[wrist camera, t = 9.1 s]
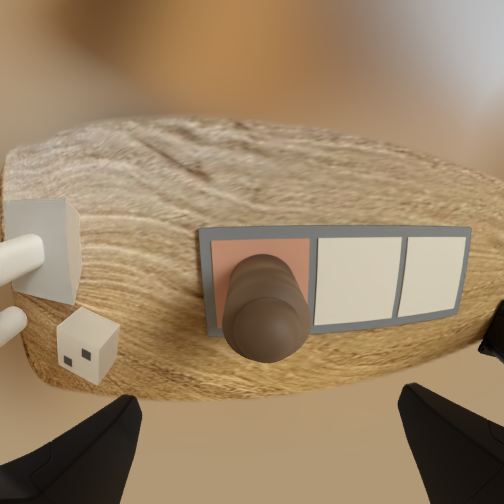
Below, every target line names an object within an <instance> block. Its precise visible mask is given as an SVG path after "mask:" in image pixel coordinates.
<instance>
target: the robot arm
mask: <svg viewBox="0 0 504 504" xmlns="http://www.w3.org/2000/svg"><path fill="white" fill-rule="evenodd" d="M478 351H479V352H480V353H482V354H486V355H489V356H493V357H497V358H498V359H499V360H500V361H501V362H502V363H503V364H504V300H503V301H502V303H501V305H500V308H499V310H498V312H497V314H496V316H495V318H494V320H493V322H492V324H491V326H490V328H489V330H488V332H487V333H486V335H485V337H484V339H483V341H482V342H481V344H480V346H479V348H478ZM398 409H399V413H400V416H401V419H402V423H403V427H404V430H405V434H406V438H407V440H408V443H409V446H410V449H411V451H412V453H413V456H414V459H415V461H416V464H417V467H418V469H419V472H420V475H421V478H422V480H423V483H424V486H425V488H426V492H427V495H428V498H429V501H430V504H504V427H503V426H501V425H498V424H496V423H494V422H492V421H490V420H487V419H486V418H484V417H482V416H480V415H478V414H476V413H474V412H471V411H470V410H468V409H466V408H463V407H461V406H460V405H458V404H455V403H453V402H452V401H450V400H448V399H446V398H444V397H442V396H440V395H438V394H436V393H434V392H432V391H431V390H429V389H427V388H425V387H423V386H421V385H419V384H417V383H410V384H406V385H405V386H404V387H403V389H402V392H401V395H400V397H399V400H398ZM141 421H142V411H141V409H140V406H139V403H138V401H137V398H136V397H135V396H133V395H127V394H124V395H122V396H120V397H119V398H117V399H116V400H114V401H113V402H112V403H110V404H109V405H107V406H105V407H104V408H102V409H101V410H99V411H98V412H96V413H95V414H93V415H92V416H90V417H89V418H87V419H86V420H84V421H82V422H81V423H79V424H78V425H76V426H75V427H73V428H71V429H70V430H68V431H67V432H65V433H64V434H62V435H60V436H59V437H57V438H55V439H54V440H52V442H49V443H47V444H45V445H44V446H42V447H40V448H38V449H36V450H35V451H33V452H31V453H29V454H26V455H24V456H22V457H20V458H17V459H15V460H13V461H10V462H8V463H5V464H3V465H0V504H120V501H121V497H122V494H123V490H124V487H125V484H126V481H127V478H128V474H129V471H130V468H131V465H132V462H133V459H134V455H135V451H136V446H137V441H138V436H139V431H140V426H141Z"/></svg>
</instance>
